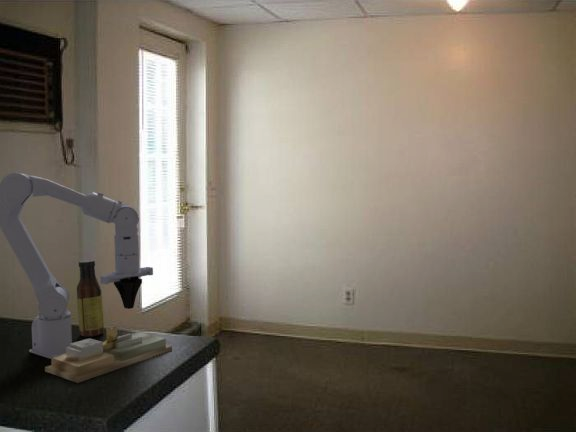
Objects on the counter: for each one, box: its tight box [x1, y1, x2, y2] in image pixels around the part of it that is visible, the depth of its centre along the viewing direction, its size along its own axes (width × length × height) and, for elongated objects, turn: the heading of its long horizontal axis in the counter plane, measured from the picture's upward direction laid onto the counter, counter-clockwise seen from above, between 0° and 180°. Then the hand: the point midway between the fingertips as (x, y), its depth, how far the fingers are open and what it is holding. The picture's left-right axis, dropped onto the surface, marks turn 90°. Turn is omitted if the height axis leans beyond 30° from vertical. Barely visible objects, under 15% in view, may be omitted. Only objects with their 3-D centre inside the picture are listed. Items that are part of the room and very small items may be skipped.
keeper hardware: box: [66, 333, 142, 362], centre depth 133 cm, size 5×17×3 cm, turn 144°
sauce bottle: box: [76, 259, 105, 338], centre depth 155 cm, size 7×6×20 cm
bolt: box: [102, 326, 118, 350], centre depth 132 cm, size 2×8×4 cm, turn 144°
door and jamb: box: [44, 331, 173, 384], centre depth 134 cm, size 12×26×3 cm, turn 144°
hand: (128, 307), depth 145 cm, fingers closed
